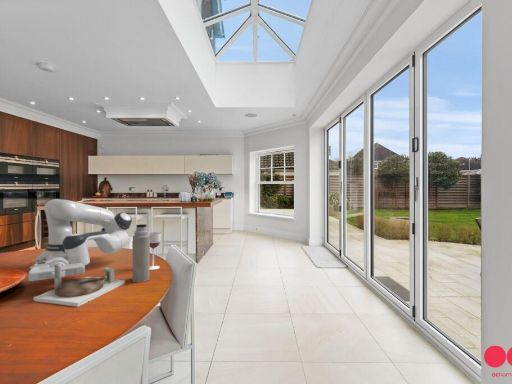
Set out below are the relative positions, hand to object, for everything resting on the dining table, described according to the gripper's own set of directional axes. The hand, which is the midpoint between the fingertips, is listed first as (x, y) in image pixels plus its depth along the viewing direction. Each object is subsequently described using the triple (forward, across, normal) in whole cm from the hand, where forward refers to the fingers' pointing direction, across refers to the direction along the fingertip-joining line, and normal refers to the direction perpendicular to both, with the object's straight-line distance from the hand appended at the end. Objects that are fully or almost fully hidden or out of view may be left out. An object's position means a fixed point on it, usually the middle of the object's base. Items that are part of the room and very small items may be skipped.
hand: (58, 276), depth 117 cm
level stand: (-1, -9, -9) cm, 12 cm away
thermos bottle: (-3, -34, -9) cm, 35 cm away
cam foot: (0, -8, -7) cm, 10 cm away
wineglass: (-20, -46, -9) cm, 51 cm away
